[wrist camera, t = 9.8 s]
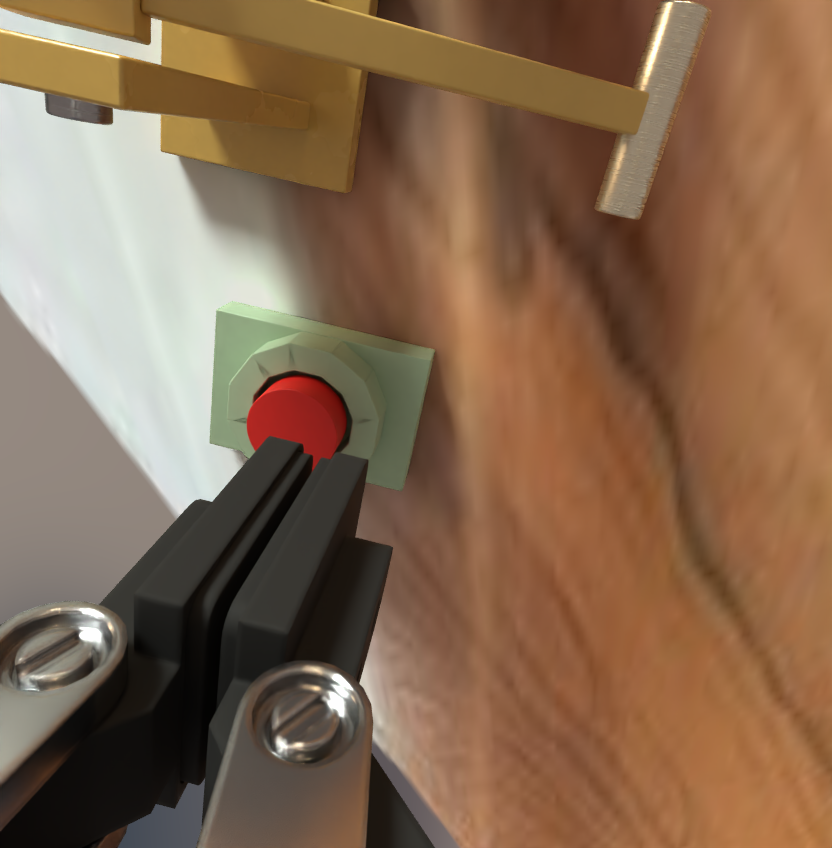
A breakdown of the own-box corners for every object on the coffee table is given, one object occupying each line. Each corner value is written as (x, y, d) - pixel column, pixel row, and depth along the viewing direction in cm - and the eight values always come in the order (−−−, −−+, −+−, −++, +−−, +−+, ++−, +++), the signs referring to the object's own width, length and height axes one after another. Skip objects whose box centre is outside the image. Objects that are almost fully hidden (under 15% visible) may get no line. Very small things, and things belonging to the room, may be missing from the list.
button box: (435, 349, 28) (426, 374, 25) (407, 475, 31) (395, 511, 28) (231, 300, 28) (197, 319, 25) (223, 429, 31) (191, 460, 28)
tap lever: (680, 18, 17) (736, 8, 15) (616, 212, 20) (657, 225, 18) (5, -203, 12) (-43, -261, 10) (28, 94, 15) (-8, 93, 13)
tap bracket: (388, -68, 22) (224, -365, 9) (351, 191, 26) (201, 228, 13) (179, -111, 22) (-251, -454, 10) (174, 151, 26) (-136, 149, 13)
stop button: (353, 386, 26) (343, 402, 24) (340, 465, 28) (330, 483, 26) (265, 365, 26) (249, 379, 24) (258, 444, 28) (242, 461, 26)
